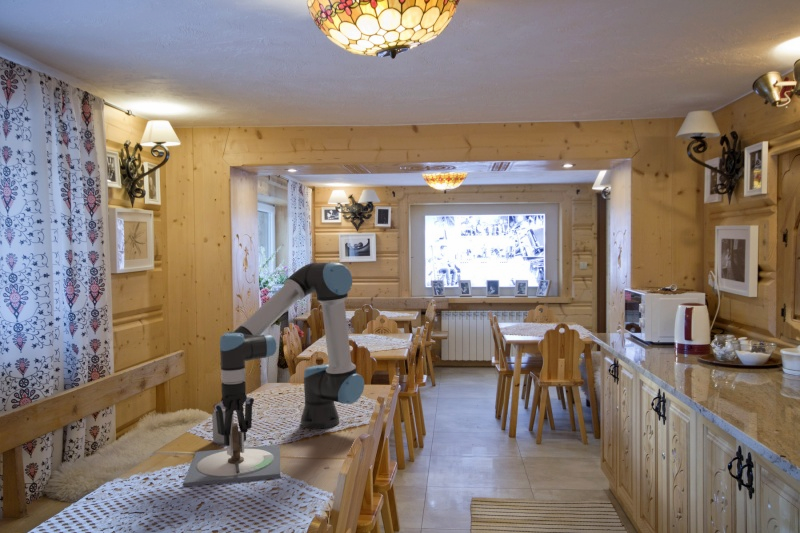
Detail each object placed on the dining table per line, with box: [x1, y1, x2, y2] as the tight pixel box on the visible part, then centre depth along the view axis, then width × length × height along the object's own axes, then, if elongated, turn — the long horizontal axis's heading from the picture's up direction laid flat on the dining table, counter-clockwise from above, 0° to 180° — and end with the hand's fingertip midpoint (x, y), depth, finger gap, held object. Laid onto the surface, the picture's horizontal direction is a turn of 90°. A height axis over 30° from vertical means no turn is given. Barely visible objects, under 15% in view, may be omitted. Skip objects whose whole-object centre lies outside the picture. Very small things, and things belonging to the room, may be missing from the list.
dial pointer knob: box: [228, 422, 244, 473], centre depth 190 cm, size 5×16×11 cm, turn 18°
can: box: [211, 406, 235, 445], centre depth 220 cm, size 8×8×12 cm
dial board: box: [183, 444, 281, 488], centre depth 195 cm, size 28×28×2 cm
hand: (235, 453), depth 195 cm, fingers closed on dial pointer knob, 3 cm apart
